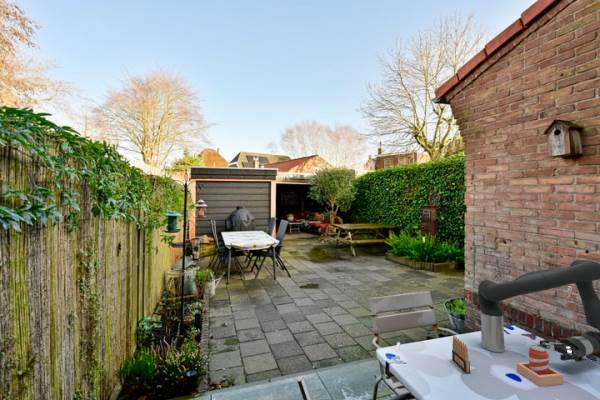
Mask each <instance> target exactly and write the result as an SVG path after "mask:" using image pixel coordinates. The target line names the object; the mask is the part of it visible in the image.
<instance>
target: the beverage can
mask: <svg viewBox="0 0 600 400" xmlns="http://www.w3.org/2000/svg"><path fill="white" fill-rule="evenodd" d="M537 345H538V344H537ZM537 345H536V344H531V345H530V346H529V348H528V349H527V350H528V362H529V368H530V370H532V371H533V372H535V373H537V374H538V375H547V374H550V371H549V367H550V358H549V357H550V356H549V353H548V352H547V350H546V349H545V348H543V347H541V346H537Z"/></svg>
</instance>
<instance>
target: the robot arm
mask: <svg viewBox="0 0 600 400" xmlns="http://www.w3.org/2000/svg"><path fill="white" fill-rule="evenodd" d="M598 280H600V263H599V262H597V261H594V260H588V259H576V260H573V261H572V262H571V263H570V264H569V266H567V267H560V268H548V269H539V270H535V271H530V272H527V273H523V274H521V275H519V276H518V277H516V278H515V279H512V280H510V281H504V282H498V283H497V282H494V281H493V280H491V279H484V280H482V281H480V282H479V284H478V286H477V294H478V295H477V296H478V297H477V298H478V304H479V307H480V317H481V319H480V321H481V327H480V333H481V335H480V336H481V348H483V349H485V350H487V351H490V352H493V353H494V352H495V353H504V352H505V349H506V348H505V347H506V346H505V330H504V328H505V327H504V312H503V311H504V310H503V307H502V306H501V304H500V302H502V301H505V300H508V299H511V298H515V297H517V296H522V295H523V296H524V295H528V294H533V293H538V292H543V291H548V290H552V289H556V288H560V287H561V288H562V287H564V286H567V285H571V284H575V286H576V289H577V291H578V294H579V297H580V300H581V304H582V307H583V312H584V317H585V321H586V322H585V323H586V324H587V325H588V326H590V327H592V328H594V329H595V330H598V331H594V330H593V331H592V330H587V331H585V332H584V333H583V334H582V335H579V336H571V337H566V338H562V339H560V340H559V342H553V341H552V340H551V339H548V338H547V339H542V340H539V341H538V342H539V344H537V346H541V347H543V348H545V349H546V351H551V352H555V353H559V354H560V360H561V361H562V362H563V361H574V362H575V363H581V362H584V361H587V356H588V355H590V354H594V353H597V352H599V351H600V298H599V296H598V295H597V292H596V290H595V287H594V285H593V281H594V282H595V281H598Z"/></svg>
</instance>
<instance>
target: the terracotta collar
mask: <svg viewBox="0 0 600 400" xmlns="http://www.w3.org/2000/svg"><path fill="white" fill-rule="evenodd" d="M549 371H550V374H547V375H538V374H537V373H535V372H533V371H532V370H530V368H529V361H526V362H524V361H523V362H516V372H517V373H519V374H520V375H522V376H524V377H525V378H526V379H527V380H530V381H531V382H533V383H534V384H536V385H537V386H539V387H547V386H557V385H559V386H560V385H564V381H565V380H564V374H562V373H560V372H558V370H555V369H553V368H552V367H550V366H549Z"/></svg>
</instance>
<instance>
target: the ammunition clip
mask: <svg viewBox="0 0 600 400" xmlns="http://www.w3.org/2000/svg"><path fill="white" fill-rule="evenodd" d="M468 352H469V350H468V345H467V344H465V343H464V342H463V341H462V340H460V338H458V337H457V336H455V335H453V337H452V349H451V354H452V355H451V361H452V360H453V361H454V362H455V363H456V364H457V366H458V367H459V369H461V371H463V373H465V374H471V366H470V365H471V363H470V360H469V353H468ZM453 361H452V362H453ZM454 362H453V363H454ZM456 364H455V365H456Z"/></svg>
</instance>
